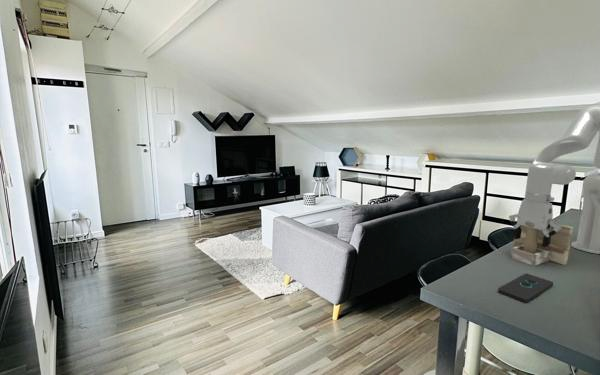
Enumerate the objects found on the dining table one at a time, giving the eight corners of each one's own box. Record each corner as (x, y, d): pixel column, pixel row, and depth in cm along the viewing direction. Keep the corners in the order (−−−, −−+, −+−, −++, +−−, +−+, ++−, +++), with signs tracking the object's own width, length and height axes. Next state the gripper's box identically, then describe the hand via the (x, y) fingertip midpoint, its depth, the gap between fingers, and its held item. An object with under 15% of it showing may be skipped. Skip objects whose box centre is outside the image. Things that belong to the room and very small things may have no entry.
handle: (536, 263, 122) (541, 224, 119) (516, 258, 127) (521, 220, 124) (540, 260, 125) (546, 222, 122) (521, 255, 130) (526, 218, 127)
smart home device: (555, 282, 105) (527, 299, 93) (554, 287, 105) (526, 305, 94) (525, 272, 111) (496, 288, 100) (524, 277, 112) (496, 293, 100)
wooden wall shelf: (516, 248, 138) (520, 215, 135) (567, 263, 122) (573, 227, 120) (497, 253, 131) (501, 219, 129) (548, 270, 116) (554, 232, 114)
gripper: (569, 201, 116) (562, 248, 119) (517, 193, 131) (512, 234, 134) (559, 203, 113) (551, 251, 116) (507, 194, 127) (501, 237, 130)
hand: (530, 242), depth 125 cm, fingers open, 9 cm apart
